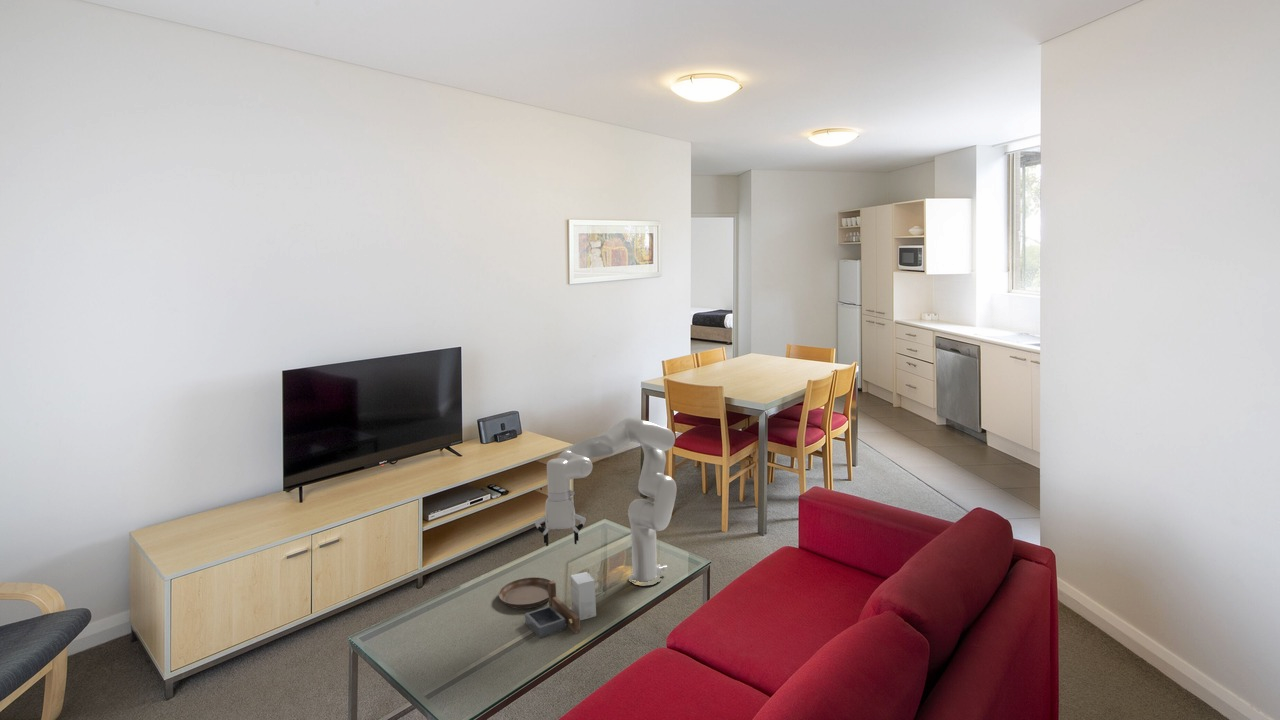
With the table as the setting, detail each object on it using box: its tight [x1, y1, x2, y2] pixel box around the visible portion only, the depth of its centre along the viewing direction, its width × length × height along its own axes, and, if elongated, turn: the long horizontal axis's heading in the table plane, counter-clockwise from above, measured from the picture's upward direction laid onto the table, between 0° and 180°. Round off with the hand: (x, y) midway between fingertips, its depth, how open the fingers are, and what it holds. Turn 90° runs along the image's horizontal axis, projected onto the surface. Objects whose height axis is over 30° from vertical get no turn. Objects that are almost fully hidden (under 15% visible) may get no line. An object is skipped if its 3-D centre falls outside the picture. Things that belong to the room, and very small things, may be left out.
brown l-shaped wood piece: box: [548, 580, 581, 634], centre depth 216 cm, size 3×20×10 cm, turn 33°
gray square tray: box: [524, 605, 567, 639], centre depth 213 cm, size 10×12×4 cm
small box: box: [569, 571, 597, 621], centre depth 220 cm, size 8×6×13 cm
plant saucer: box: [498, 576, 552, 610], centre depth 234 cm, size 21×21×3 cm
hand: (561, 543), depth 218 cm, fingers open, 9 cm apart
